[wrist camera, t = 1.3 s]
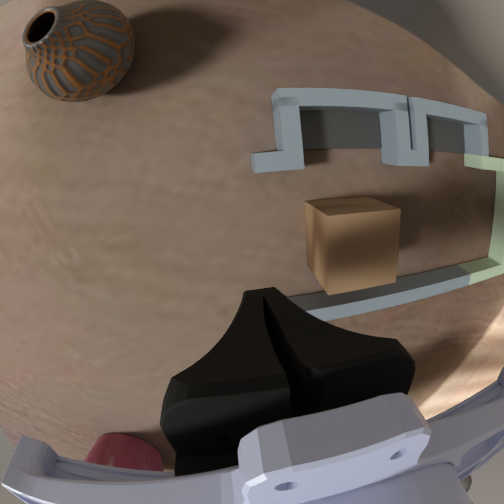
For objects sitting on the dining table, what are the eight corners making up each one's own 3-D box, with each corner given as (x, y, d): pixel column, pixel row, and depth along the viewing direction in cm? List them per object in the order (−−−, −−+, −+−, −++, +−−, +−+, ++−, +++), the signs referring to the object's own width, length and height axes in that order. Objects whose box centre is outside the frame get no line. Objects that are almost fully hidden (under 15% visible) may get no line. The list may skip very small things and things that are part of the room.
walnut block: (364, 256, 22) (395, 282, 17) (306, 265, 22) (328, 295, 17) (365, 195, 20) (400, 209, 16) (303, 200, 20) (327, 215, 15)
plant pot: (124, 410, 26) (101, 505, 14) (201, 462, 31) (202, 540, 19) (65, 429, 27) (41, 498, 15) (134, 475, 32) (125, 538, 20)
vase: (132, 11, 14) (91, -47, 6) (157, 78, 16) (114, 33, 8) (56, 56, 14) (-10, 27, 6) (76, 124, 16) (0, 118, 8)
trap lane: (491, 264, 24) (504, 272, 22) (266, 313, 23) (270, 330, 21) (499, 122, 19) (515, 123, 16) (244, 97, 17) (247, 89, 15)
